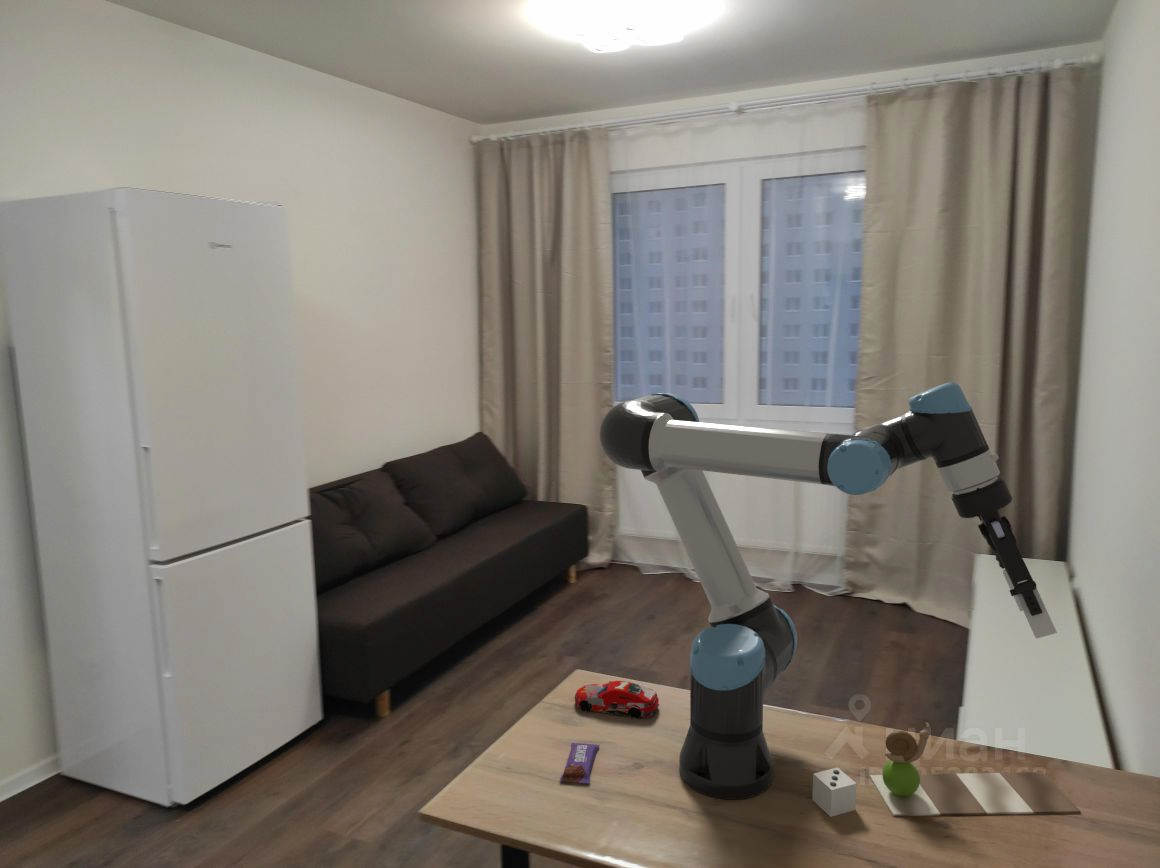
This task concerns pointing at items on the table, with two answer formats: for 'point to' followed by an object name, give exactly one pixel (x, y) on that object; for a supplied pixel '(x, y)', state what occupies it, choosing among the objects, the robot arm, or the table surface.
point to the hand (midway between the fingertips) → (1037, 621)
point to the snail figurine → (903, 761)
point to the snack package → (579, 763)
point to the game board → (978, 795)
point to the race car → (618, 699)
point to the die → (834, 791)
